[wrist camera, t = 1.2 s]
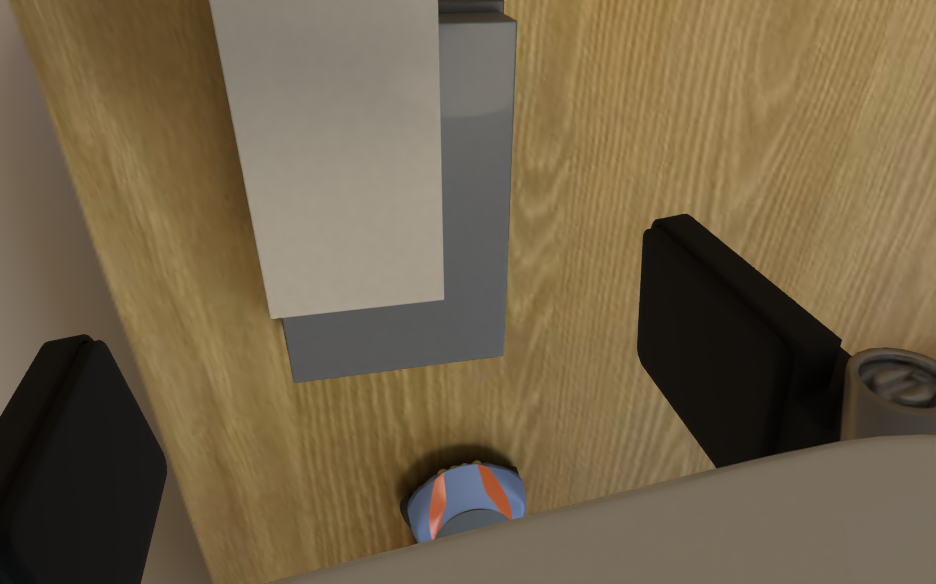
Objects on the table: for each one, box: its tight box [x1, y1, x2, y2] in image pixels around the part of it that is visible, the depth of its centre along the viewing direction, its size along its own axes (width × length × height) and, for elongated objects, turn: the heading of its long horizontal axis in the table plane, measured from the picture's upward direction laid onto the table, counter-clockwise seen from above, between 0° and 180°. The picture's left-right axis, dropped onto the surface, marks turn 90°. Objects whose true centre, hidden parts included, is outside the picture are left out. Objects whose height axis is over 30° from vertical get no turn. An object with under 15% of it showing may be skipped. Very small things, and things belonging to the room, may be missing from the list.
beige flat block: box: [209, 0, 444, 319], centre depth 22 cm, size 12×6×2 cm, turn 0°
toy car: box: [400, 461, 526, 543], centre depth 40 cm, size 8×15×5 cm, turn 6°
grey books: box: [282, 0, 517, 383], centre depth 27 cm, size 15×10×4 cm, turn 0°
